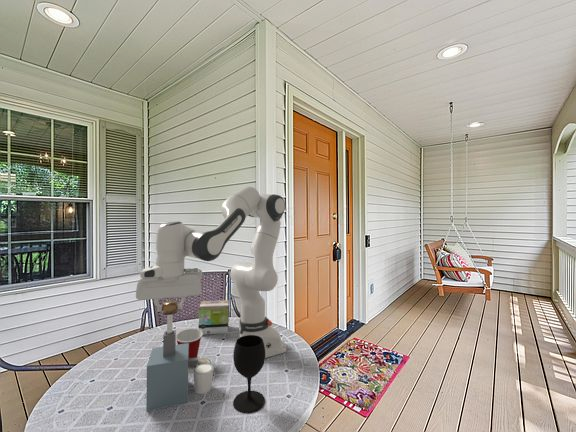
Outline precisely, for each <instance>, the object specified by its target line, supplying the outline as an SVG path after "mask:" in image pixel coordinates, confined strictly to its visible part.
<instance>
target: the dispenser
mask: <svg viewBox="0 0 576 432" xmlns="http://www.w3.org/2000/svg"><path fill="white" fill-rule="evenodd" d="M176 332H177V330H176V329H173V333H172V334H169V335H167V330H166V331H164V332H163V336H162V337H163V338H162V339H163V342H162V345H163V346H159V347H152V349H151V352H150V355H149V359H148V362H147V363H146V364H147V365H146V395H145V396H146V401H145V402H146V405H145V406H146V407H145V408H146V409H145V410H146V412H150V411H155V410H159V409H163V408H168V407H169V408H170V407H174V406H178V405H183V404H188V403H189V400H188V399H189V367H192V368H193V369H194V368H197V366H198V362H199V361H198V356H197V357H195V358H189V343H185V344H176V343H177V340H176V334H177V333H176Z"/></svg>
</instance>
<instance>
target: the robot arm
mask: <svg viewBox="0 0 576 432" xmlns="http://www.w3.org/2000/svg"><path fill="white" fill-rule="evenodd" d="M285 210H286V201H285V200H284V198H283V197H282V195H279V194H270V193H269V194H266V193H262V194H260V193H259V191H258V189H256V188H255V187H253V186H245V187H243V188H241V189H238V190H237V191H235V192H234V193H233V194H231V195H230V196H229V197H227V198H226V199H225V200H224V201H223V203H222V204H221V208H220V211H221V214H222V217H223V218H224V219H223V221H221V222H220V224H219V225H217V226H216V228H214V229H211V230H207V231H204V230H203V231H202V230H201V231H200V230H195V229H193V228H190V227H188V226H187V225H185V224H184V223H183V222H181V221H170V222H169V221H168V222H164V223H161V224H160V225H159V226H158V229H157V233H156V241H155V243H156V244H155V250H156V253H157V254H156V255H157V256H156V259H155V264H154V265H152V266H148V267H146V268H144V269H142V270H141V271H140V275H139V276H140V279H139V280H138V282H137V283H136V289H135V298H136V300H137V301H145V300H146V301H147V300H153V303H154V305H155V306H156V312H157V313H160V312H161V313H162V304H160V302H159V300H161V299H171V298H180V300H181V301H180V303H179V302H178V305H177V307H178V308H177V310H178V311H179V310H183V305H184V302H185V301H186V298H187V297H194V296H200V295H201V294H202V284H201V280H203V271H202V270H201V269H200V268H198V267H197V268H196V267H195V268H185V258H186V257H190V258H194V259H198V260H201V261H204V262H211V261H214V260H216V259H217V258H219V256H221V254H222V252H223V250H224V248H225V246H226V244H227V243H228V241H229V240H230V239H231V238H232V237H233V236H234V234H235V233H237V231H238V230H239V229H240V228H241V227H242V226H243V224H244V223H245V220H246V218H247V217H250V218H259V223H258V226H257V229H256V231H255V233H254V236H253V239H252V242H251V245H250V252H251V254H253V262H252V263H249V262H239V263H238V262H237V263H235V264H234V265H233V266H232V267H231V269H230V273H229V277H230V280H231V281H232V283H233V284H234V286H235V289H236V291H237V294H238V299H239V305H240V318H239V323H238V331H239V337H238V338H240V337H242V336H246V335H256V336H259V337H261V338H262V339H263V342H264V346H265V359H267V358H271V357H274V356H277V355H280V354H283V353H284V354H285V353H286V352H287V344H286V343H285V342H284V341H283V340H282V339H281V338H282V337H281V335H280V333H279V332H278V331H277V329H275V328H274V327H273V326H272V325H273V322H272V321H271V320H270V319H269V318H268V317H267V316H266V302H265V299H264V298H263V296H262V295H261V293H260V292H271V291H272V290H274V289H275V288H276V286H277V284H278V278H279V277H278V273H277V271H276V270H275V268H274V267H275V266H274V261H273V260H274V254H275V249H276V246H277V243H278V239H279V235H280V230H281V219H282V217H283V215H284V213H285Z"/></svg>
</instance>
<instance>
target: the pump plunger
mask: <svg viewBox="0 0 576 432" xmlns="http://www.w3.org/2000/svg"><path fill="white" fill-rule="evenodd" d="M178 303H179V301H178V300H168V301H164V302H162V304H161V305H162V311H161V314H162V315H165V316H166V324H167V325H166V331H167V335H169V334H172V333H173V330H174V329H173V328H174V327H173V325H174V323H173V320H174V318H173V316H174V315H175V314H177V313H178V311H179V310H177V308H178V307H177V305H178Z"/></svg>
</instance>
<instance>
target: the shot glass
mask: <svg viewBox="0 0 576 432" xmlns="http://www.w3.org/2000/svg"><path fill="white" fill-rule="evenodd" d="M213 375H214V365H212V364H211V363H201V364H197V368H193V382H194V392H195V393H196V394H199V395H200V394H203V395H204V394H206V393H208V392H210V390H211V389H212V386H213V377H214V376H213Z"/></svg>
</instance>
